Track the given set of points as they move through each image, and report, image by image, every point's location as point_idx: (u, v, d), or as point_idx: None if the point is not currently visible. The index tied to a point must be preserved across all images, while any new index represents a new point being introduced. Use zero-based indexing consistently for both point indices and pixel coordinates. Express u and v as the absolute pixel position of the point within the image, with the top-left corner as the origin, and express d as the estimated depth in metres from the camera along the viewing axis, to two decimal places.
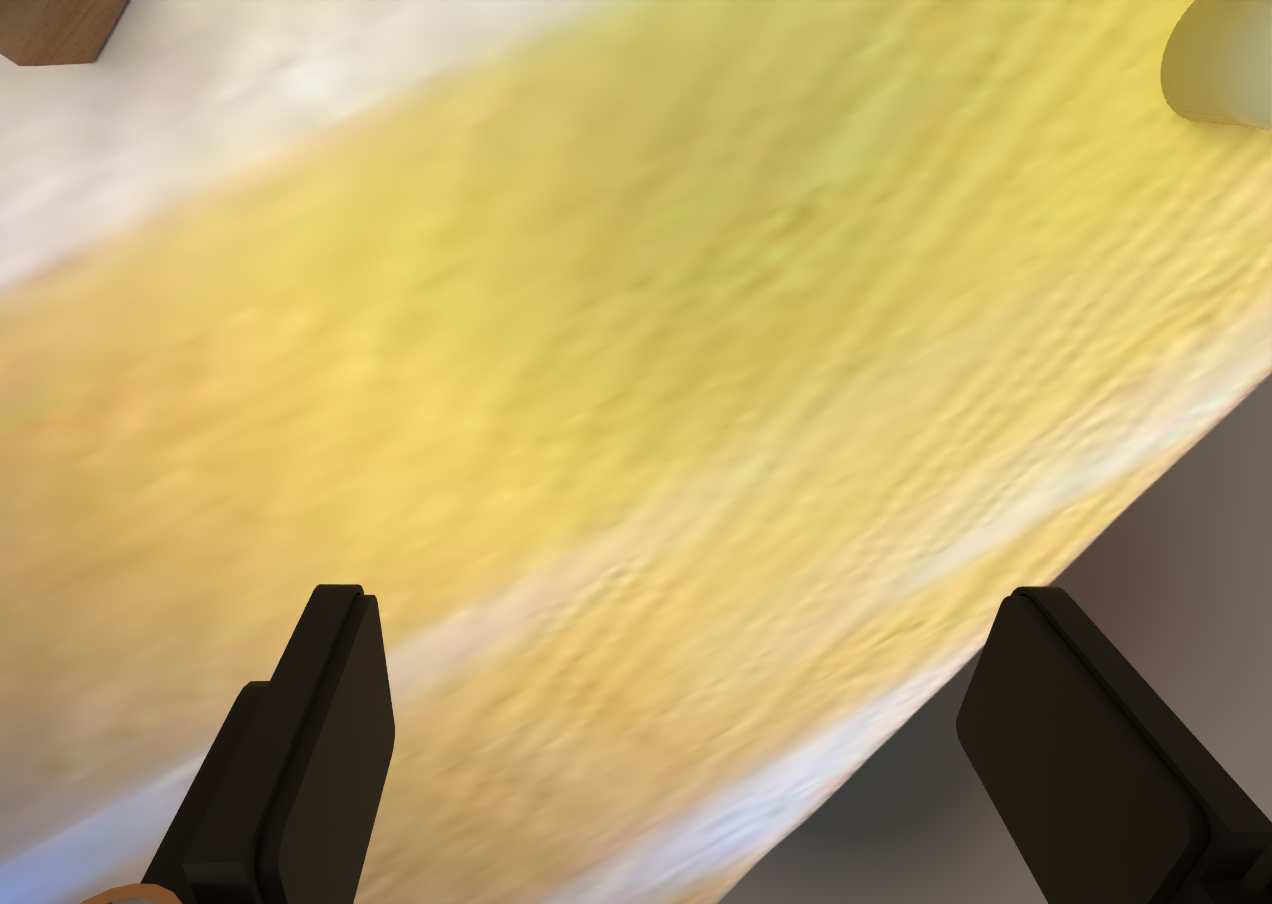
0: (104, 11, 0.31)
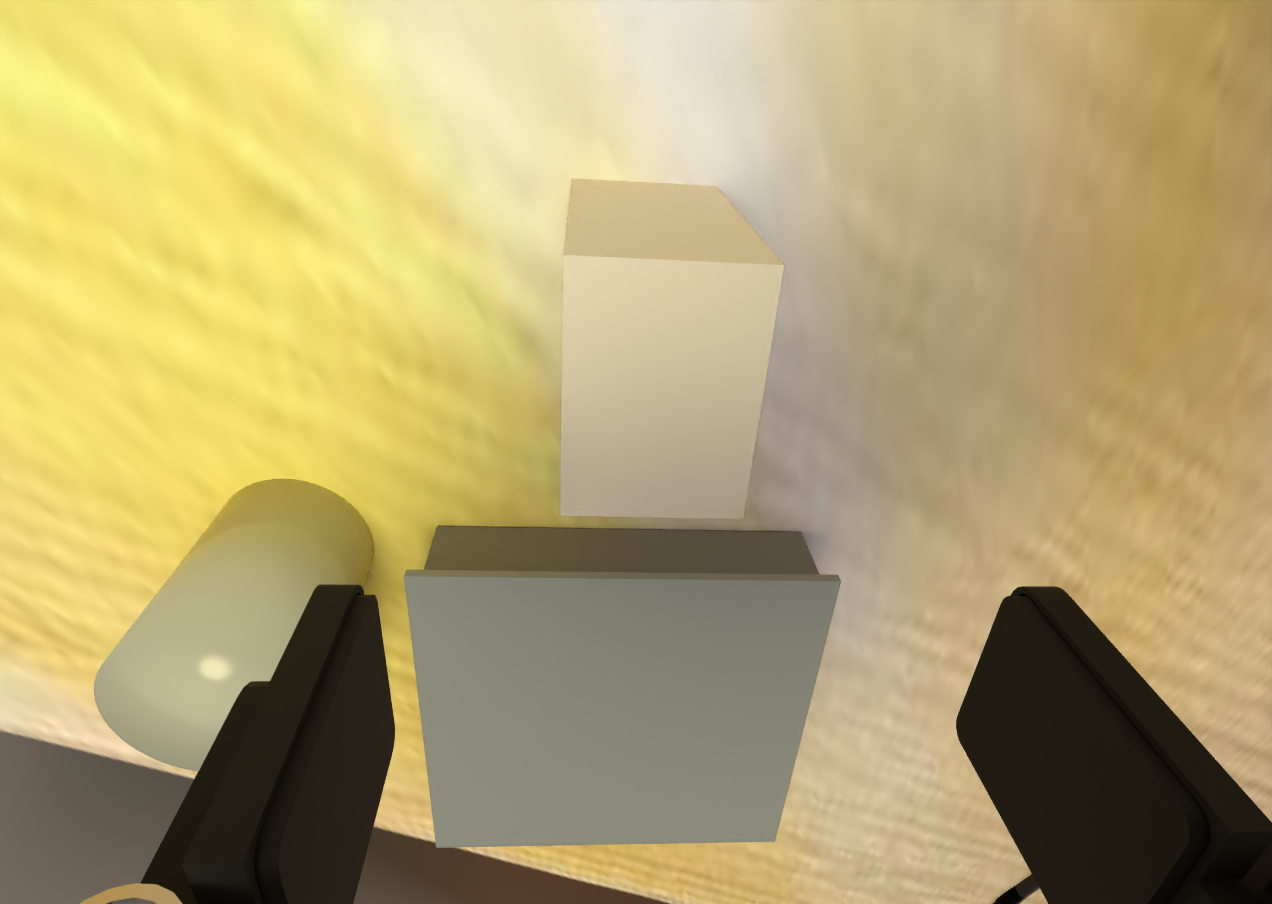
0: None
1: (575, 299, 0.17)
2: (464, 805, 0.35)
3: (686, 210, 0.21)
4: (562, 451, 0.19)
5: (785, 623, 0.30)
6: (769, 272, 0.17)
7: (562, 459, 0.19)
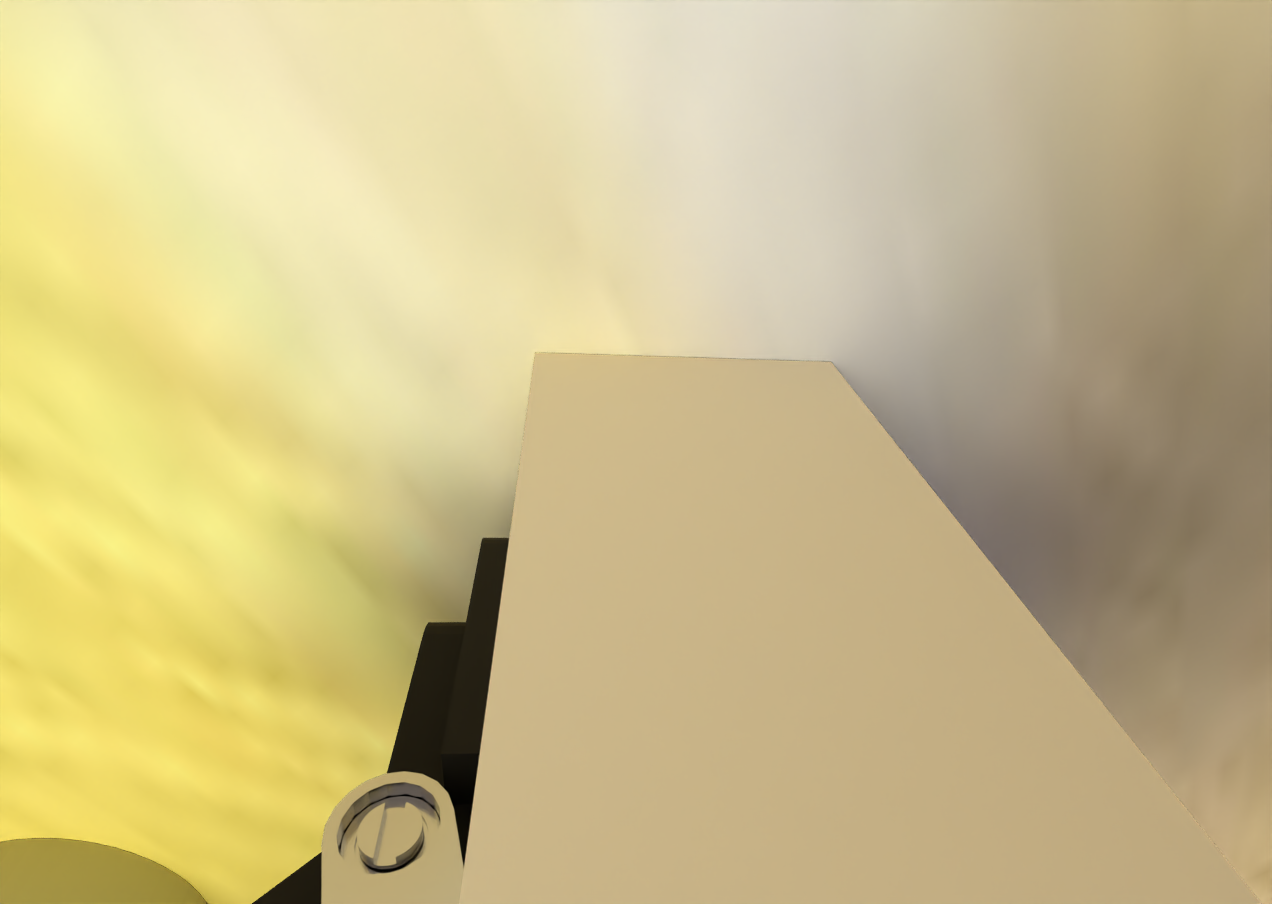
0: None
1: None
2: None
3: (813, 501, 0.09)
4: None
5: None
6: None
7: None
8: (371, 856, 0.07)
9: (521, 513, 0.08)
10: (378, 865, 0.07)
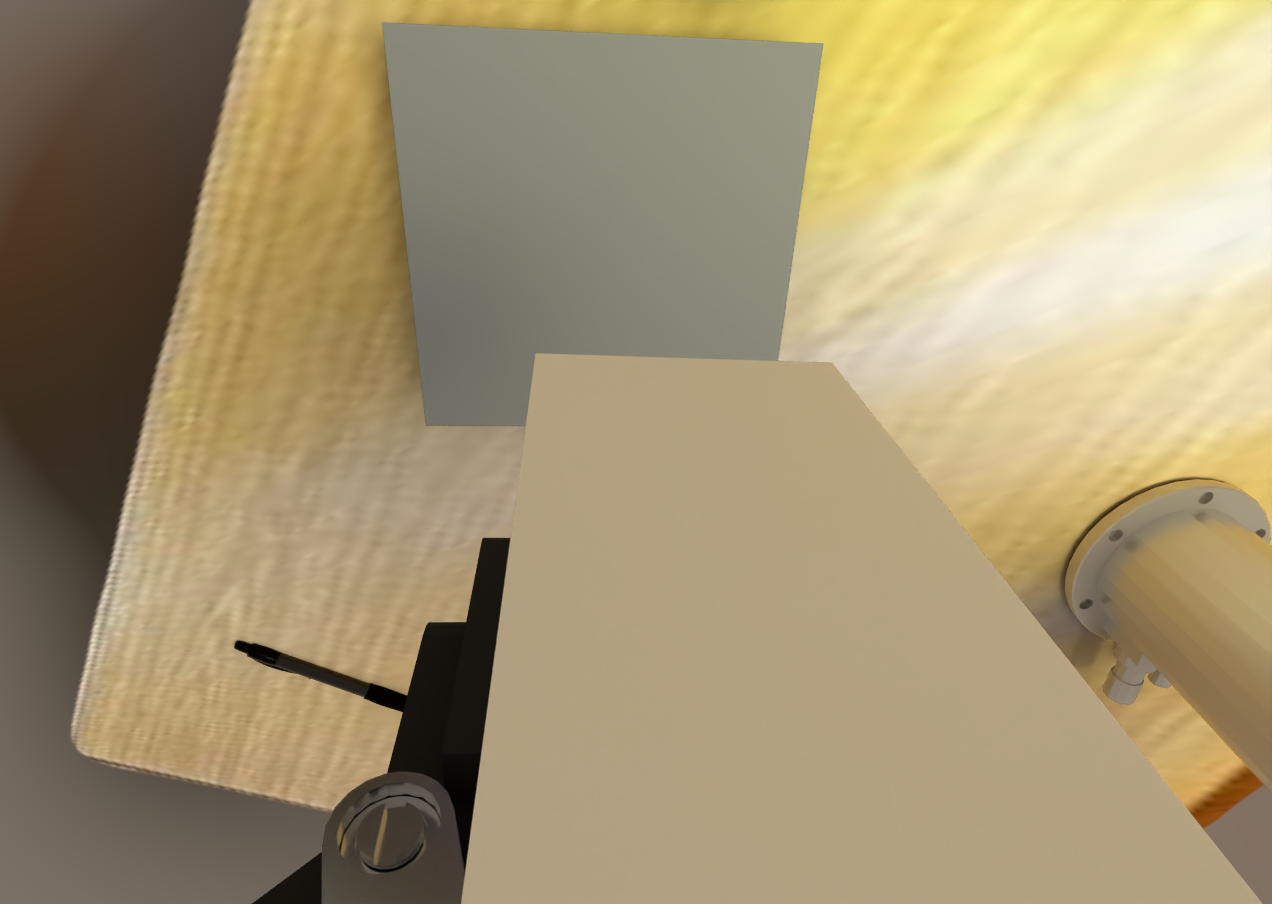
0: None
1: None
2: (472, 72, 0.29)
3: (814, 503, 0.08)
4: None
5: None
6: None
7: None
8: (371, 856, 0.07)
9: (522, 515, 0.08)
10: (378, 865, 0.07)
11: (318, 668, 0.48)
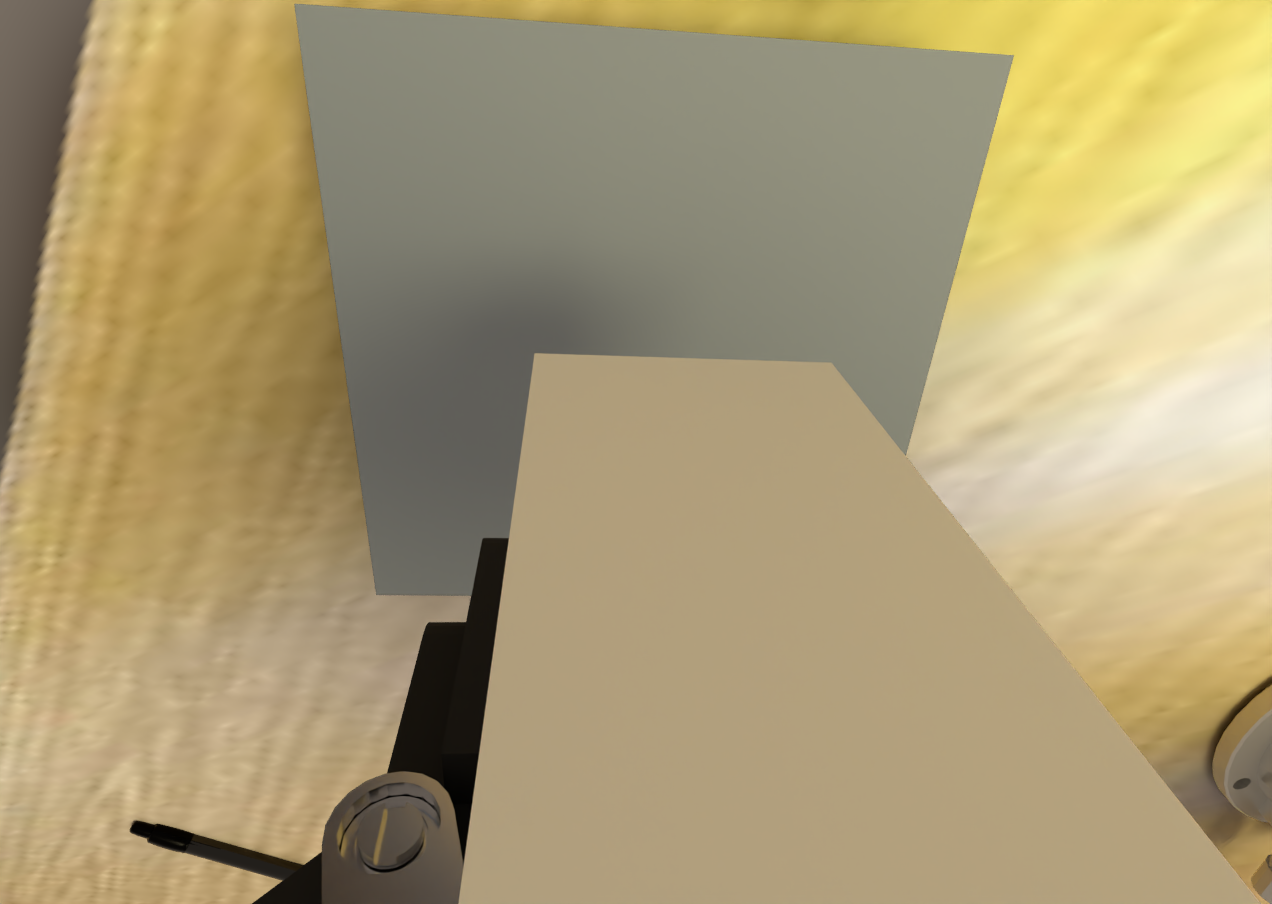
0: None
1: None
2: (445, 89, 0.18)
3: (813, 503, 0.08)
4: None
5: None
6: None
7: None
8: (371, 856, 0.07)
9: (521, 515, 0.08)
10: (378, 865, 0.07)
11: (243, 853, 0.37)
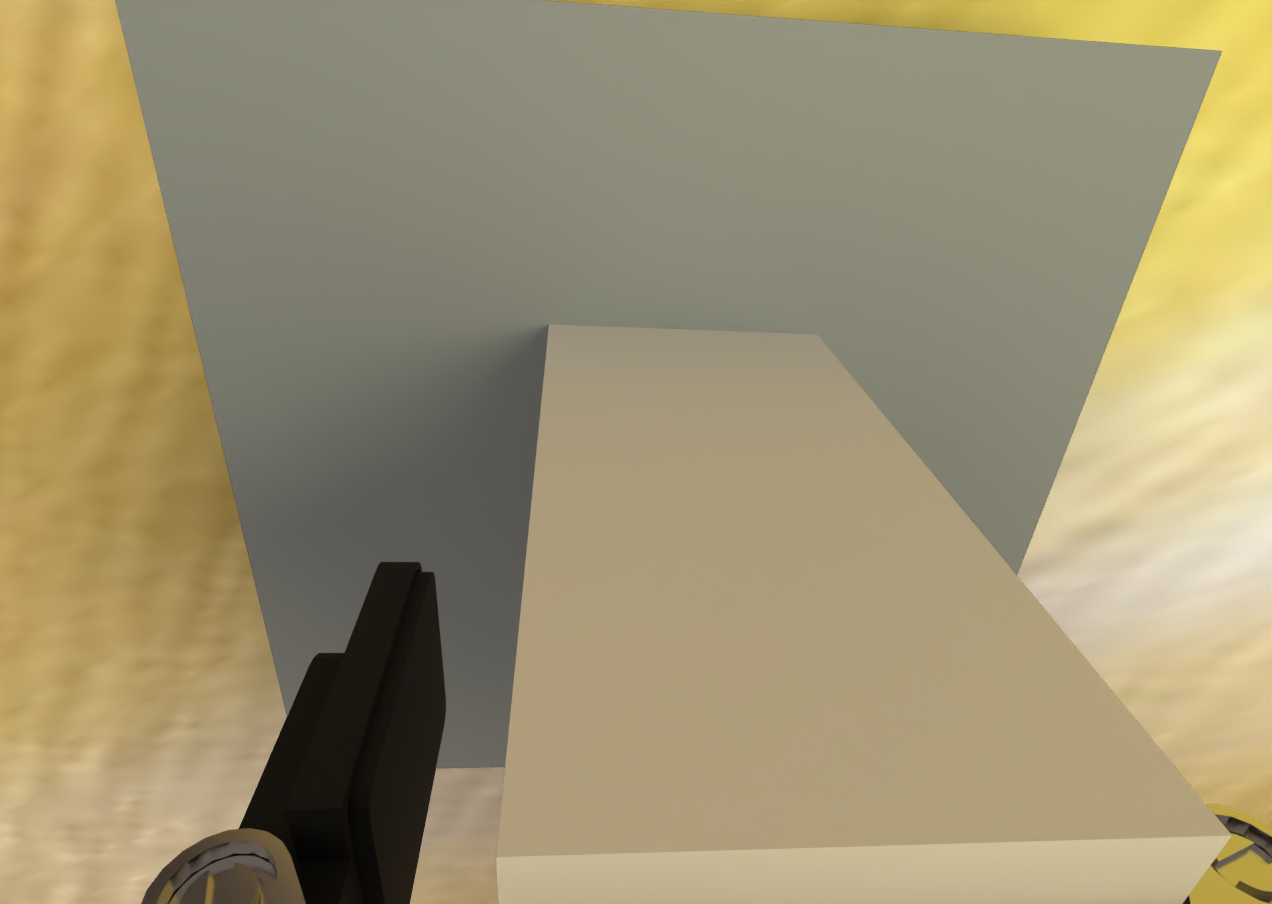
0: None
1: None
2: (358, 102, 0.11)
3: (796, 444, 0.10)
4: None
5: None
6: (1178, 853, 0.05)
7: None
8: None
9: (544, 450, 0.09)
10: None
11: None
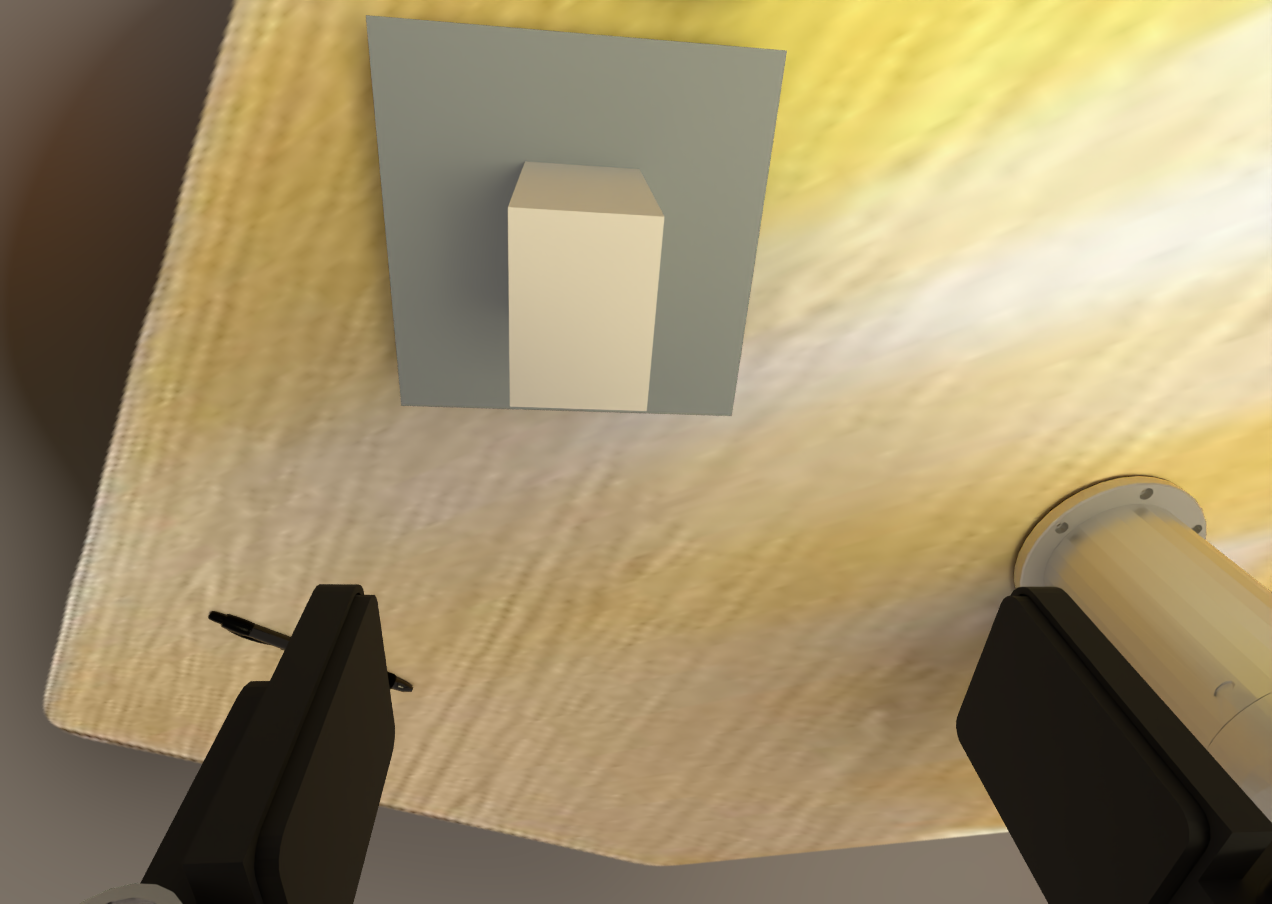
0: None
1: (517, 239, 0.24)
2: (451, 65, 0.30)
3: (607, 183, 0.28)
4: (510, 355, 0.26)
5: (693, 381, 0.38)
6: (654, 221, 0.24)
7: (510, 361, 0.26)
8: None
9: (520, 179, 0.28)
10: None
11: None
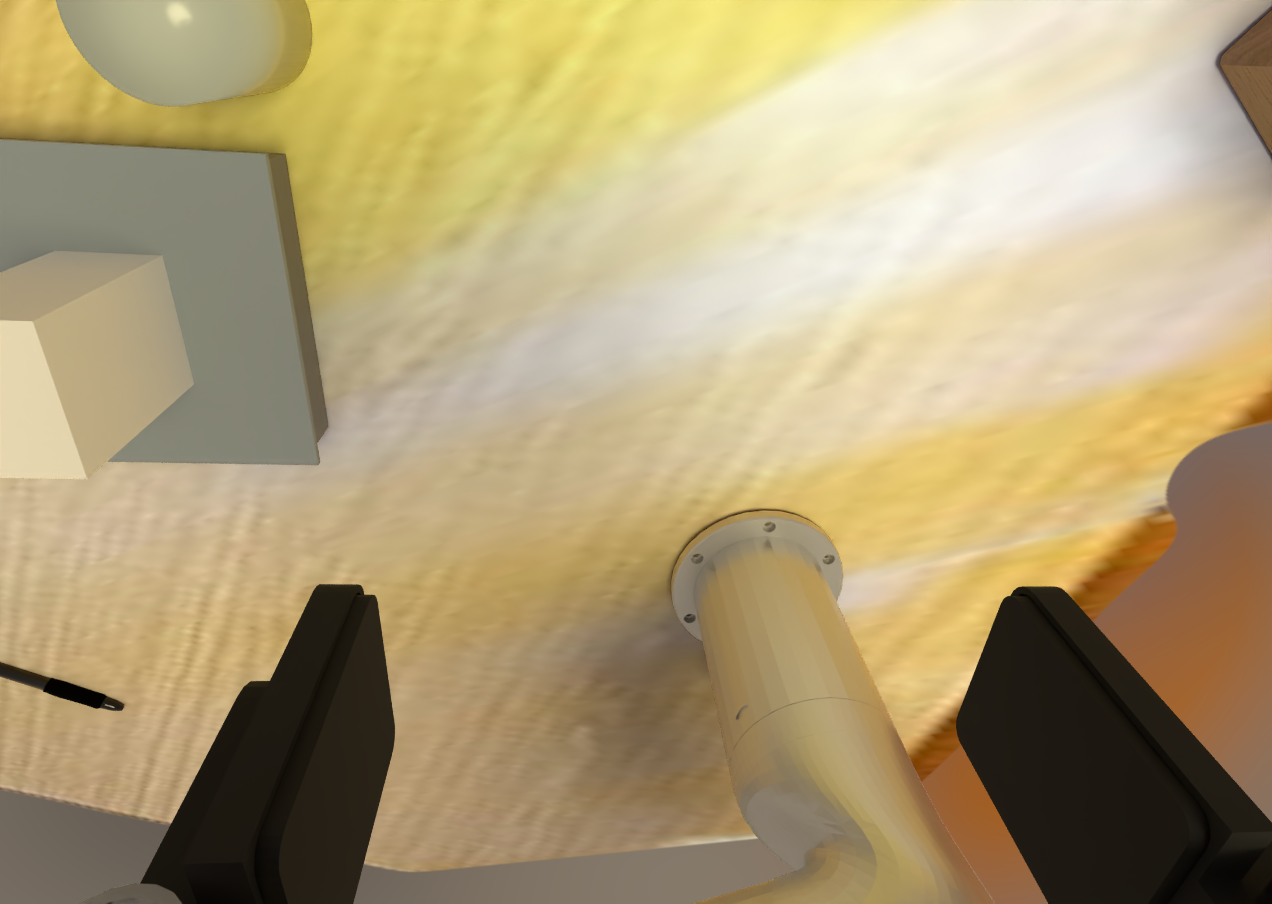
0: None
1: None
2: None
3: (75, 278, 0.33)
4: None
5: (272, 435, 0.42)
6: (25, 325, 0.28)
7: None
8: None
9: None
10: None
11: None
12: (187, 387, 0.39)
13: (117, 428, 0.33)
